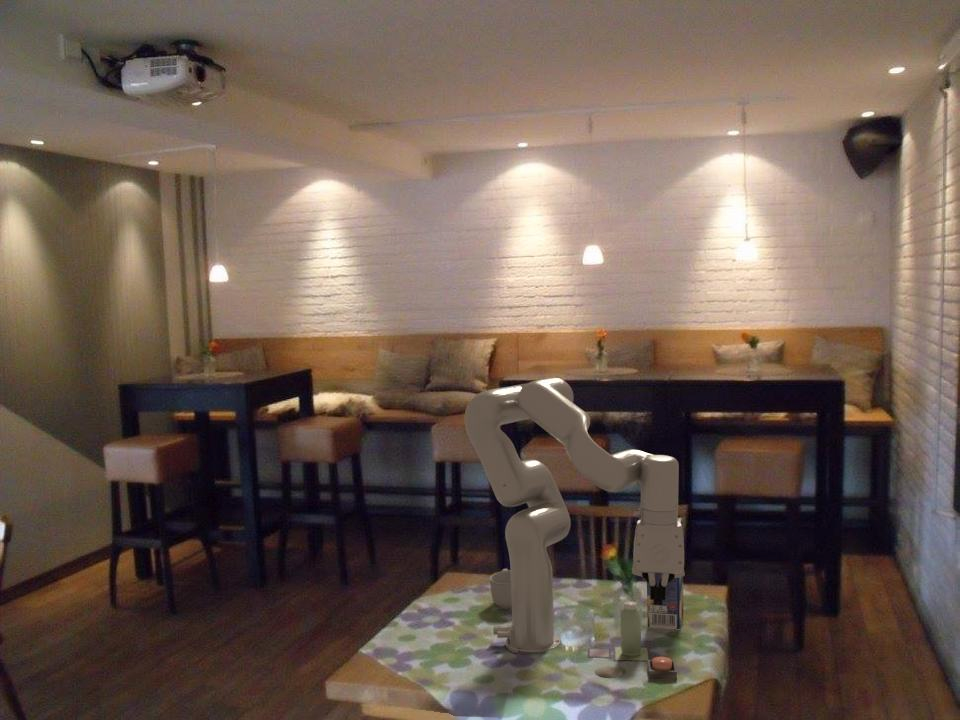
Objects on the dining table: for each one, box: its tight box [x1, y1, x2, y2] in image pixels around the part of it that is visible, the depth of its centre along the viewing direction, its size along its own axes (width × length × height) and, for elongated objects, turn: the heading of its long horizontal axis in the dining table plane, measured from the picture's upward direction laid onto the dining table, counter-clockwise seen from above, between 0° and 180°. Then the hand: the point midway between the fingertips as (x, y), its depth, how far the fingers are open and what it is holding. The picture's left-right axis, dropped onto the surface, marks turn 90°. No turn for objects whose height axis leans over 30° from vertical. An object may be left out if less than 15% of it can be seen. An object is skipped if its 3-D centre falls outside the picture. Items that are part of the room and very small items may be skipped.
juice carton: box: [646, 517, 685, 630], centre depth 222 cm, size 12×8×24 cm, turn 163°
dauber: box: [619, 601, 642, 657], centre depth 199 cm, size 4×4×11 cm
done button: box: [651, 656, 673, 671], centre depth 189 cm, size 4×4×2 cm
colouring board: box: [587, 646, 678, 681], centre depth 195 cm, size 20×20×3 cm
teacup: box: [489, 568, 512, 610], centre depth 237 cm, size 14×11×8 cm
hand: (657, 602), depth 189 cm, fingers closed
